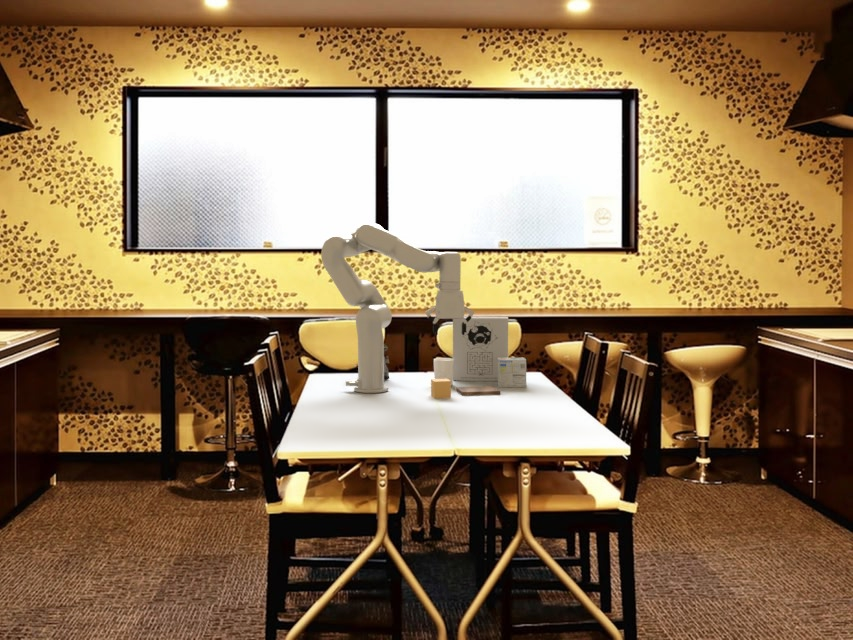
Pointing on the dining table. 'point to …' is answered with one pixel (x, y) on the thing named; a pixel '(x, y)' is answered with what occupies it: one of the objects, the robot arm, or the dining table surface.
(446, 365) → the white cup
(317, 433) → the dining table surface
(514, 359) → the light bulb box
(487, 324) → the cereal box
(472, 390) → the walnut board
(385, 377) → the figurine
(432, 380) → the ochre cube
